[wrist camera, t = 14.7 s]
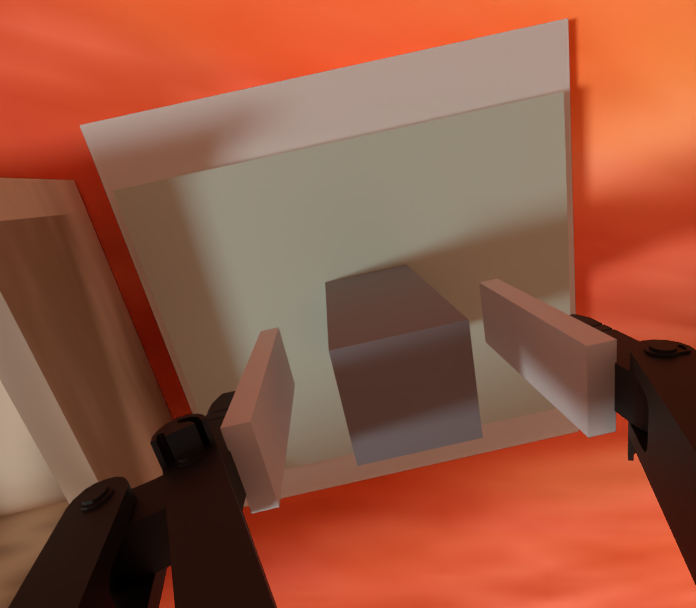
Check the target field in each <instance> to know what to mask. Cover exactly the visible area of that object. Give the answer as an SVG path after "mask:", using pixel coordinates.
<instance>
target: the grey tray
mask: <svg viewBox="0 0 696 608" xmlns="http://www.w3.org/2000/svg"><path fill="white" fill-rule="evenodd" d="M559 92H564V117H565V150H566V184H567V217H568V251H569V284H570V315H571V314H576V307H575V268H574V228H573V189H572V149H571V110H570V70H569V31H568V18H567V19H562V20H558V21H553V22H549V23H544V24H539V25H535V26H530V27H526V28H521V29H517V30H512V31H508V32H503V33H498V34H494V35H489V36H485V37H480V38H476V39H471V40H467V41H462V42H457V43H453V44H448V45H444V46H439V47H435V48H430V49H426V50H421V51H416V52H412V53H407V54H403V55H398V56H394V57H389V58H384V59H380V60H375V61H371V62H366V63H362V64H357V65H353V66H348V67H343V68H339V69H334V70H330V71H325V72H321V73H316V74H312V75H307V76H302V77H298V78H293V79H289V80H284V81H280V82H275V83H270V84H266V85H261V86H257V87H252V88H248V89H243V90H239V91H234V92H229V93H225V94H220V95H216V96H211V97H207V98H202V99H198V100H193V101H188V102H184V103H179V104H175V105H170V106H166V107H161V108H156V109H152V110H147V111H143V112H138V113H134V114H129V115H125V116H120V117H115V118H111V119H106V120H102V121H97V122H93V123H88V124H84V125H80V128H81V130H82V133H83V135H84V138H85V140H86V143H87V146H88V148H89V151H90V153H91V156H92V158H93V161H94V163H95V166H96V169H97V171H98V174H99V176H100V179H101V181H102V184H103V186H104V189H105V191H106V194H107V197H108V199H109V202H110V204H111V207H112V209H113V212H114V214H115V217H116V220H117V222H118V225H119V227H120V230H121V232H122V235H123V237H124V240H125V243H126V245H127V248H128V250H129V253H130V255H131V258H132V260H133V263H134V266H135V268H136V271H137V273H138V276H139V278H140V281H141V283H142V286H143V289H144V291H145V294H146V296H147V299H148V301H149V304H150V306H151V309H152V311H153V314H154V317H155V319H156V322H157V324H158V327H159V329H160V332H161V334H162V337H163V340H164V342H165V345H166V347H167V350H168V352H169V355H170V357H171V360H172V363H173V365H174V368H175V370H176V373H177V375H178V378H179V380H180V383H181V386H182V388H183V391H184V393H185V396H186V398H187V401H188V403H189V406H190V409H191V411H192V414H196V413H197V414H199V412H198V410H197V407H196V405H195V402H194V399H193V397H192V394H191V392H190V389H189V386H188V384H187V381H186V379H185V376H184V373H183V371H182V368H181V366H180V363H179V360H178V358H177V355H176V353H175V350H174V348H173V345H172V342H171V340H170V337H169V335H168V332H167V329H166V327H165V324H164V322H163V319H162V316H161V314H160V311H159V309H158V306H157V303H156V301H155V298H154V296H153V293H152V290H151V288H150V285H149V283H148V280H147V277H146V275H145V272H144V270H143V267H142V264H141V262H140V259H139V257H138V254H137V252H136V249H135V246H134V244H133V241H132V239H131V236H130V233H129V231H128V228H127V226H126V223H125V220H124V218H123V215H122V213H121V210H120V207H119V205H118V202H117V200H116V197H115V194H114V192H113V191H114V190H119V189H123V188H128V187H133V186H137V185H142V184H146V183H151V182H155V181H160V180H164V179H169V178H173V177H178V176H183V175H187V174H192V173H196V172H201V171H205V170H210V169H214V168H219V167H223V166H228V165H232V164H237V163H242V162H246V161H251V160H255V159H260V158H264V157H269V156H273V155H278V154H282V153H287V152H291V151H296V150H301V149H305V148H310V147H314V146H319V145H323V144H328V143H332V142H337V141H341V140H346V139H350V138H355V137H360V136H364V135H369V134H373V133H378V132H382V131H387V130H391V129H396V128H400V127H405V126H409V125H414V124H419V123H423V122H428V121H432V120H437V119H441V118H446V117H450V116H455V115H459V114H464V113H468V112H473V111H478V110H482V109H487V108H491V107H496V106H500V105H505V104H509V103H514V102H518V101H523V100H527V99H532V98H537V97H541V96H546V95H550V94H555V93H559ZM481 427H482V436H483V438H479V439H475V440H471V441H466V442H462V443H457V444H453V445H448V446H444V447H439V448H435V449H431V450H426V451H422V452H417V453H413V454H408V455H404V456H399V457H395V458H391V459H386V460H382V461H377V462H373V463H368V464H364V465H359V466H357V463H356V459H355V455H354V454H351V455H347V456H342V457H338V458H333V459H329V460H324V461H320V462H316V463H311V464H307V465H302V466H298V467H293V468H289V469H284V475H283V483H282V491H281V498H286V497H290V496H295V495H299V494H304V493H308V492H312V491H317V490H321V489H326V488H330V487H335V486H339V485H344V484H348V483H352V482H357V481H361V480H366V479H370V478H375V477H379V476H383V475H388V474H392V473H397V472H401V471H406V470H410V469H415V468H419V467H423V466H428V465H432V464H437V463H441V462H446V461H450V460H455V459H459V458H463V457H468V456H472V455H477V454H481V453H486V452H490V451H494V450H499V449H503V448H508V447H512V446H517V445H521V444H526V443H530V442H534V441H539V440H543V439H548V438H552V437H557V436H561V435H565V434H570V433H574V432H579V428H577V427H576V426H575V425H574V424H573V423H572V422H571V421H570V420H569V419H568V418H567V417H566V416H565V415H563V414H562V413H561V412H560V411H559V410H558V409H557V408H556V409H551V410H547V411H542V412H538V413H533V414H529V415H525V416H520V417H516V418H511V419H507V420H502V421H498V422H493V423H489V424H485V425H481ZM246 506H249V505H248V502H247V500H246V498H245V502H244V506H243V507H246Z"/></svg>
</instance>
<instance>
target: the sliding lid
mask: <svg viewBox="0 0 696 608" xmlns="http://www.w3.org/2000/svg"><path fill="white" fill-rule="evenodd" d="M113 192H114V194H115V197H116V200H117V202H118V205H119V207H120V210H121V213H122V215H123V218H124V220H125V223H126V226H127V228H128V231H129V233H130V236H131V239H132V241H133V244H134V246H135V249H136V252H137V254H138V257H139V259H140V262H141V264H142V267H143V270H144V272H145V275H146V277H147V280H148V283H149V285H150V288H151V290H152V293H153V296H154V298H155V301H156V303H157V306H158V309H159V311H160V314H161V316H162V319H163V322H164V324H165V327H166V329H167V332H168V335H169V337H170V340H171V342H172V345H173V348H174V350H175V353H176V355H177V358H178V360H179V363H180V366H181V368H182V371H183V373H184V376H185V379H186V381H187V384H188V386H189V389H190V392H191V394H192V397H193V399H194V402H195V405H196V407H197V410H198V412H199V414H203V415H204V416H206V415H207V412H208V410H209V408H210V406H211V404H212V403H213V402H214V401H215V400H216V399H217V398H218V397H219V396H220V395H221V394H223V393H227V392H232V391H236V389H237V387H238V384H239V382H240V379H241V377H242V375H243V372H244V370H245V367H246V365H247V363H248V360H249V358H250V355H251V353H252V351H253V348H254V346H255V343H256V341H257V339H258V336H259V334H260V332H261V331H264V330H268V329H273V328H277V327H279V330H280V334H281V337H282V341H283V344H284V348H285V351H286V355H287V358H288V362H289V365H290V369H291V372H292V376H293V379H294V383H295V389H294V397H293V405H292V413H291V421H290V428H289V436H288V444H287V452H286V460H285V468H284V469H289V468H293V467H298V466H302V465H307V464H311V463H316V462H320V461H324V460H329V459H333V458H338V457H342V456H347V455H351V454H354V455H355V459H356V463H357V466H359V465H364V464H368V463H373V462H377V461H382V460H386V459H391V458H395V457H399V456H404V455H408V454H413V453H417V452H422V451H426V450H431V449H435V448H439V447H444V446H448V445H453V444H457V443H462V442H466V441H471V440H475V439H479V438H483V436H482V427H481V425H485V424H489V423H493V422H498V421H502V420H507V419H511V418H516V417H520V416H525V415H529V414H533V413H538V412H542V411H547V410H551V409H556V407H555V406H554V405H553V404H552V403H551V402H549V401H548V400H547V399H546V398H545V397H544V396H543V395H542V394H541V393H540V392H539V391H538V390H537V389H535V388H534V387H533V386H532V385H531V384H530V383H529V382H528V381H527V380H526V379H525V378H524V377H523V376H522V375H520V374H519V373H518V372H517V371H516V370H515V369H514V368H513V367H512V366H511V365H510V364H509V363H508V362H506V361H505V360H504V359H503V358H502V357H501V356H500V355H499V354H498V353H497V352H496V351H495V350H494V349H492V348H491V347H490V346H489V345H488V344H487V343H486V342H485V332H484V323H483V313H482V304H481V295H480V285H479V282H484V281H488V280H493V279H499V280H501V281H503V282H505V283H507V284H509V285H511V286H513V287H515V288H517V289H519V290H521V291H523V292H525V293H527V294H529V295H531V296H532V297H534V298H536V299H538V300H540V301H542V302H544V303H546V304H548V305H550V306H552V307H554V308H556V309H558V310H560V311H562V312H564V313H566V314H568V315H570V284H569V251H568V217H567V184H566V150H565V117H564V92H559V93H555V94H550V95H546V96H541V97H537V98H532V99H527V100H523V101H518V102H514V103H509V104H505V105H500V106H496V107H491V108H487V109H482V110H478V111H473V112H468V113H464V114H459V115H455V116H450V117H446V118H441V119H437V120H432V121H428V122H423V123H419V124H414V125H409V126H405V127H400V128H396V129H391V130H387V131H382V132H378V133H373V134H369V135H364V136H360V137H355V138H350V139H346V140H341V141H337V142H332V143H328V144H323V145H319V146H314V147H310V148H305V149H301V150H296V151H291V152H287V153H282V154H278V155H273V156H269V157H264V158H260V159H255V160H251V161H246V162H242V163H237V164H232V165H228V166H223V167H219V168H214V169H210V170H205V171H201V172H196V173H192V174H187V175H183V176H178V177H173V178H169V179H164V180H160V181H155V182H151V183H146V184H142V185H137V186H133V187H128V188H123V189H119V190H114V191H113Z"/></svg>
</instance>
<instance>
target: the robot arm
mask: <svg viewBox="0 0 696 608" xmlns="http://www.w3.org/2000/svg"><path fill="white" fill-rule="evenodd" d="M479 285H480V295H481V304H482V313H483V323H484V332H485V342H486V343H487V344H488V345H489V346H490V347H491V348H492V349H494V350H495V351H496V352H497V353H498V354H499V355H500V356H501V357H502V358H503V359H504V360H505V361H506V362H508V363H509V364H510V365H511V366H512V367H513V368H514V369H515V370H516V371H517V372H518V373H519V374H520V375H522V376H523V377H524V378H525V379H526V380H527V381H528V382H529V383H530V384H531V385H532V386H533V387H534V388H535V389H537V390H538V391H539V392H540V393H541V394H542V395H543V396H544V397H545V398H546V399H547V400H548V401H549V402H551V403H552V404H553V405H554V406H555V407H556V408H557V409H558V410H559V411H560V412H561V413H562V414H563V415H565V416H566V417H567V418H568V419H569V420H570V421H571V422H572V423H573V424H574V425H575V426H576V427H577V428H579V429H580V430H581V431H582V432H583V433H584V434H585V435H586V436H587V437H588V438H589V437H593V436H598V435H602V434H607V433H611V432H615V431H616V412H617V413H619V414H620V415H621V416H623V417H624V418H625V419H627V420H628V421H629V423H628V460H631V461H633V459H634V454H635V453H637V456H638V458H639V460H640V462H641V465H642V467H643V469H644V471H645V473H646V476H647V478H648V480H649V482H650V485H651V487H652V489H653V491H654V493H655V496H656V498H657V500H658V502H659V505H660V507H661V509H662V511H663V513H664V516H665V518H666V520H667V522H668V525H669V527H670V529H671V531H672V533H673V536H674V538H675V540H676V542H677V545H678V547H679V549H680V551H681V553H682V556H683V558H684V560H685V562H686V565H687V567H688V569H689V571H690V573H691V576H692V578H693V580H694V582H695V585H696V350H695V349H693V348H692V347H690V346H688V345H686V344H682V343H679V342H674V341H668V340H645V341H637V340H635V339H633V338H631V337H629V336H627V335H625V334H623V333H621V332H619V331H617V330H612V328H610V327H608V326H606V325H602V323H600V322H598V321H596V320H594V319H592V318H589V317H585V316H580V315H576V314H571V315H568V314H566V313H564V312H562V311H560V310H558V309H556V308H554V307H552V306H550V305H548V304H546V303H544V302H542V301H540V300H538V299H536V298H534V297H532V296H531V295H529V294H527V293H525V292H523V291H521V290H519V289H517V288H515V287H513V286H511V285H509V284H507V283H505V282H503V281H501V280H499V279H493V280H488V281H484V282H479ZM294 389H295V383H294V379H293V376H292V372H291V369H290V365H289V362H288V358H287V355H286V351H285V348H284V344H283V341H282V337H281V334H280V330H279V327H277V328H273V329H268V330H264V331H261V332H260V334H259V336H258V339H257V341H256V343H255V346H254V348H253V351H252V353H251V355H250V358H249V360H248V363H247V365H246V367H245V370H244V372H243V375H242V377H241V379H240V382H239V384H238V387H237V389H236V391H232V392H227V393H223V394H221V395H220V396H219V397H218V398H217V399H216V400H215V401H214V402H213V403H212V404H211V406H210V408H209V410H208V412H207V415H206V416H204V415H203V414H197V413H196V414H189V415H185V416H182V417H179V418H176V419H174V420H173V421H171V422H169V423H167V424H165V425H164V426H163V427H161V428H160V429H159V430H158V431H157V432H156V433H155V434H154V435H153V436H152V439H151V442H150V444H151V446H152V448H153V451H154V453H155V455H156V457H157V460H158V462H159V464H160V466H161V469H162V471H163V475H161V476H159V477H157V478H155V479H153V480H151V481H149V482H146V483H144V484H142V485H139V486H137V487H135V488H131V486H130V484H129V482H128V481H127V479H126V478H125V477H118V476H117V477H112V478H108V479H105V480H103V481H100V482H97V483H95V484H93V485H91V487H88V488H86V489H85V490H84V491H82V493H80V494H79V495H78V496H77V497H76V498H75V499H73V500H72V502H71V503H70V504H69V506H68V507H67V508H66V509H65V511H64V513H63V515H62V516H61V518H60V520H59V521H58V523H57V525H56V527H55V528H54V530H53V532H52V533H51V535H50V537H49V539H48V540H47V542H46V544H45V545H44V547H43V549H42V550H41V552H40V554H39V556H38V557H37V559H36V561H35V562H34V564H33V566H32V568H31V569H30V571H29V573H28V574H27V576H26V578H25V580H24V581H23V583H22V585H21V586H20V588H19V590H18V591H17V593H16V595H15V597H14V598H13V600H12V602H11V603H10V605H9V607H8V608H159V604H160V599H161V594H162V589H163V585H164V580H165V575H166V570H167V567H168V566H170V565H171V568H172V579H173V590H174V600H175V608H277V606H276V603H275V600H274V597H273V595H272V592H271V589H270V586H269V584H268V581H267V578H266V575H265V573H264V570H263V567H262V564H261V561H260V559H259V556H258V553H257V550H256V548H255V545H254V542H253V539H252V537H251V534H250V531H249V528H248V525H247V523H246V520H245V517H244V515H243V512H242V511H243V506H244V502H245V498H246V500H247V502H248V505H249V508H250V510H251V513H256V512H261V511H265V510H269V509H274V508H278V507H280V499H281V491H282V483H283V475H284V468H285V460H286V452H287V444H288V436H289V428H290V421H291V413H292V405H293V397H294Z"/></svg>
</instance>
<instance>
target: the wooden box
mask: <svg viewBox="0 0 696 608" xmlns="http://www.w3.org/2000/svg"><path fill="white" fill-rule="evenodd" d="M171 421H173V419H172V416H171V414H170V411H169V409H168V407H167V404H166V402H165V399H164V397H163V395H162V392H161V390H160V387H159V385H158V382H157V380H156V378H155V375H154V373H153V370H152V368H151V365H150V363H149V361H148V358H147V356H146V353H145V351H144V348H143V346H142V344H141V341H140V339H139V336H138V334H137V331H136V329H135V327H134V324H133V322H132V319H131V317H130V315H129V312H128V310H127V307H126V305H125V302H124V300H123V298H122V295H121V293H120V290H119V288H118V285H117V283H116V281H115V278H114V276H113V273H112V271H111V268H110V266H109V264H108V261H107V259H106V256H105V254H104V252H103V249H102V247H101V244H100V242H99V239H98V237H97V235H96V232H95V230H94V227H93V225H92V222H91V220H90V218H89V215H88V213H87V210H86V208H85V205H84V203H83V201H82V198H81V196H80V193H79V191H78V189H77V186H76V184H75V181H74V180H57V179H28V178H0V608H8V607H9V605H10V603H11V602H12V600H13V598H14V597H15V595H16V593H17V591H18V590H19V588H20V586H21V585H22V583H23V581H24V580H25V578H26V576H27V574H28V573H29V571H30V569H31V568H32V566H33V564H34V562H35V561H36V559H37V557H38V556H39V554H40V552H41V550H42V549H43V547H44V545H45V544H46V542H47V540H48V539H49V537H50V535H51V533H52V532H53V530H54V528H55V527H56V525H57V523H58V521H59V520H60V518H61V516H62V515H63V513H64V511H65V509H66V508H67V507H68V506H69V504H70V503H71V502H72V500H73V499H75V498H76V497H77V496H78V495H79V494H80V493H82V491H84V490H85V489H86V488H88V487H91V485H93V484H95V483H97V482H100V481H103V480H105V479H108V478H112V477H117V476H118V477H125V478H126V479H127V481H128V482H129V484H130V486H131V488H135V487H137V486H139V485H142V484H144V483H146V482H149V481H151V480H153V479H155V478H157V477H159V476H161V475H163V471H162V469H161V466H160V464H159V462H158V460H157V457H156V455H155V453H154V451H153V448H152V446H151V444H150V442H151V439H152V436H153V435H154V434H155V433H156V432H157V431H158V430H159V429H160V428H161V427H163V426H164V425H165V424H167V423H169V422H171Z"/></svg>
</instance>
